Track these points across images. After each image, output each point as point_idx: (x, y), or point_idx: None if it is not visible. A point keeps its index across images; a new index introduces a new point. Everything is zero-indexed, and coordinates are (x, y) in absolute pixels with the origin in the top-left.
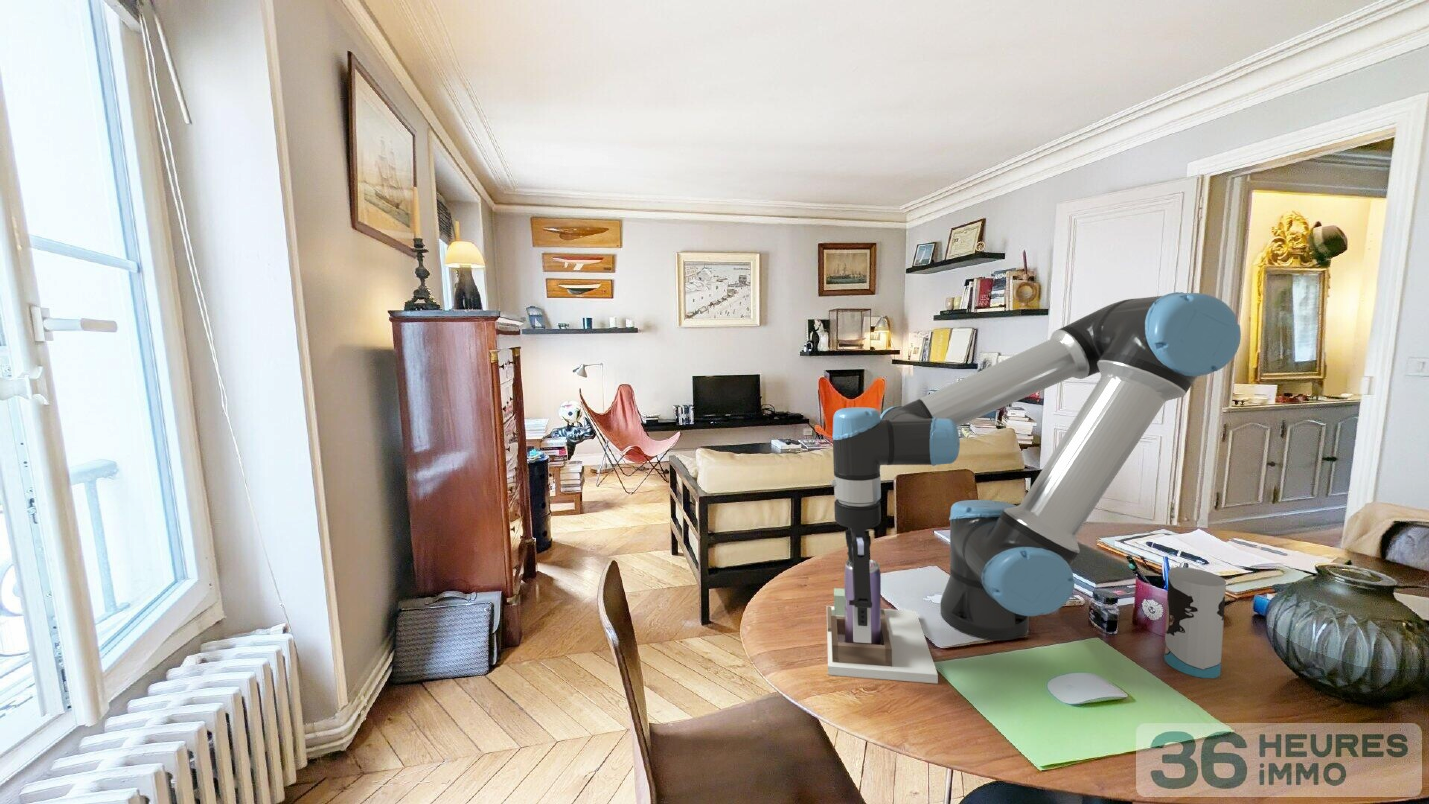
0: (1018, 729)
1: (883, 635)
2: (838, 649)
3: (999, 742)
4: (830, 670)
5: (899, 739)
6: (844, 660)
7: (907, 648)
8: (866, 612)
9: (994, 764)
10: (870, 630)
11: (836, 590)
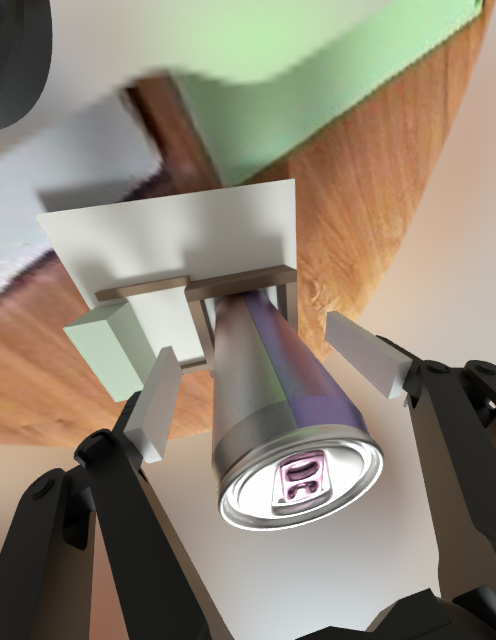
0: (397, 18)
1: (252, 288)
2: None
3: (419, 83)
4: None
5: (396, 248)
6: None
7: (223, 237)
8: (414, 357)
9: (453, 109)
10: (353, 323)
11: (123, 396)
